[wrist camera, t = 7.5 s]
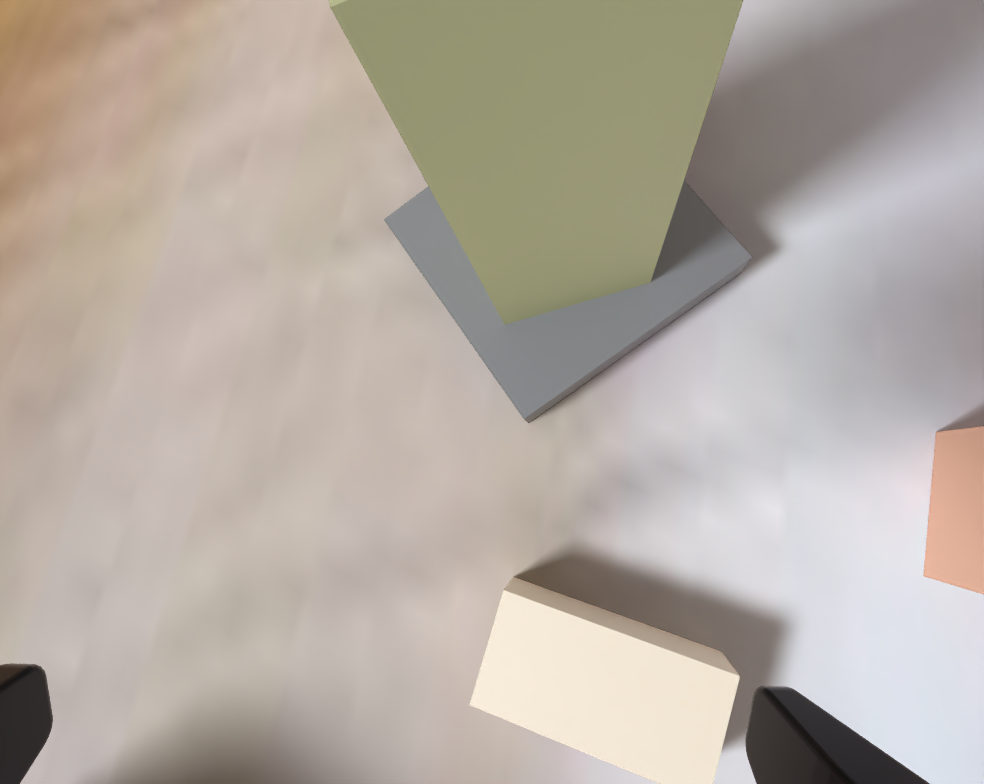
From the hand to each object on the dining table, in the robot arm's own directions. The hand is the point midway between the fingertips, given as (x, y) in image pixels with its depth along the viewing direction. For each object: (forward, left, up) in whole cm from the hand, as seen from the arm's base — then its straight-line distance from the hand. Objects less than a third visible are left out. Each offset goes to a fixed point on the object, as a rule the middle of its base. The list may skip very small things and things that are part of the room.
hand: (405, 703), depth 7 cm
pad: (+2, -11, -12) cm, 16 cm away
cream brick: (-4, +2, -13) cm, 13 cm away
